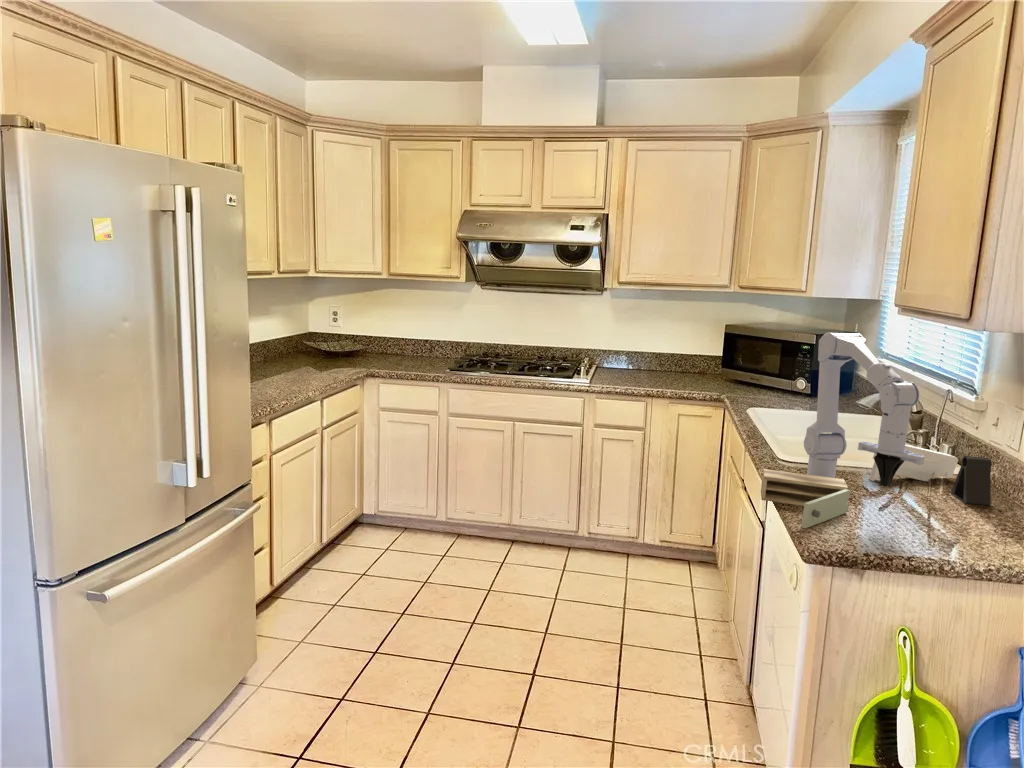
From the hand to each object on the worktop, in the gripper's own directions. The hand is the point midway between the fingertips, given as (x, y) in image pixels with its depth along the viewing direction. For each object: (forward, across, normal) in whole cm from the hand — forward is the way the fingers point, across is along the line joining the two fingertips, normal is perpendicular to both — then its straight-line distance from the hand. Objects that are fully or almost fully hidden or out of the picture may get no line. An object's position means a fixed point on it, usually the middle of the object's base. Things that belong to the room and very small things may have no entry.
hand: (885, 485), depth 163 cm
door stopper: (+10, +6, +40) cm, 42 cm away
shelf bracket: (+10, -11, +44) cm, 46 cm away
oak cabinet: (+9, -18, -4) cm, 21 cm away
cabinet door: (+9, -7, -12) cm, 16 cm away
